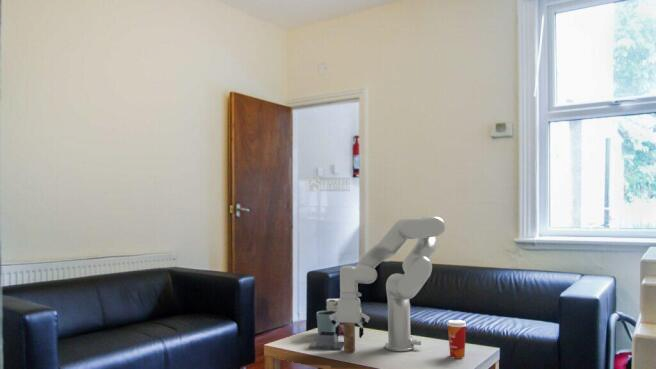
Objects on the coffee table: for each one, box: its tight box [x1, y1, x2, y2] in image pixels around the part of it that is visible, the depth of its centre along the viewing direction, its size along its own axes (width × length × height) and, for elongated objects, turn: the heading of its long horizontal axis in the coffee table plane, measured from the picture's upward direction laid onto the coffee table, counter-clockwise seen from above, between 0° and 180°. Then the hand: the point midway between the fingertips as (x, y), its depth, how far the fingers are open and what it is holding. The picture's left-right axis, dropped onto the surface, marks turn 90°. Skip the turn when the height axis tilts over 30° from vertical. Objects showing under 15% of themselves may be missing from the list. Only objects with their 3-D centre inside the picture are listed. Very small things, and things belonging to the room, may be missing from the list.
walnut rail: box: [343, 322, 356, 354], centre depth 210 cm, size 4×4×14 cm
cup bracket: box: [308, 331, 344, 351], centre depth 218 cm, size 14×10×6 cm
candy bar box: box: [325, 298, 344, 336], centre depth 241 cm, size 11×5×16 cm, turn 80°
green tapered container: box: [316, 310, 337, 334], centre depth 231 cm, size 10×10×12 cm
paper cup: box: [446, 319, 467, 359], centre depth 202 cm, size 8×8×14 cm
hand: (349, 336), depth 210 cm, fingers open, 9 cm apart
